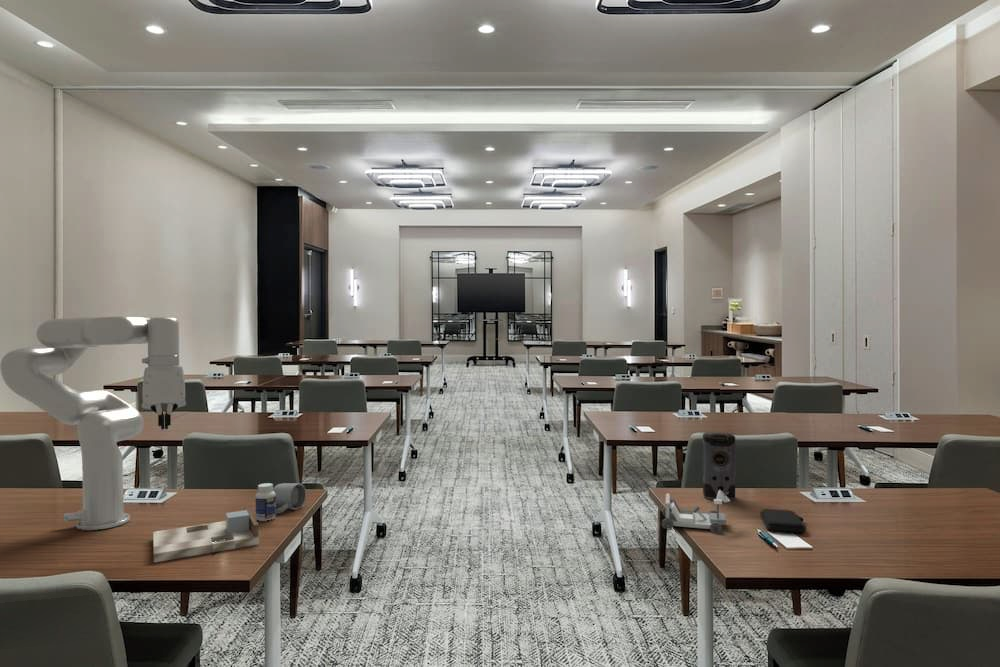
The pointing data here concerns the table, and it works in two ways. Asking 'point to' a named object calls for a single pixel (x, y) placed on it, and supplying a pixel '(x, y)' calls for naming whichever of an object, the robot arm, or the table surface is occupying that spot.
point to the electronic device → (718, 465)
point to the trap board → (202, 539)
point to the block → (237, 521)
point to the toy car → (694, 515)
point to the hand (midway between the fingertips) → (164, 428)
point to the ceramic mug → (289, 496)
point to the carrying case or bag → (782, 521)
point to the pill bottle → (265, 502)
